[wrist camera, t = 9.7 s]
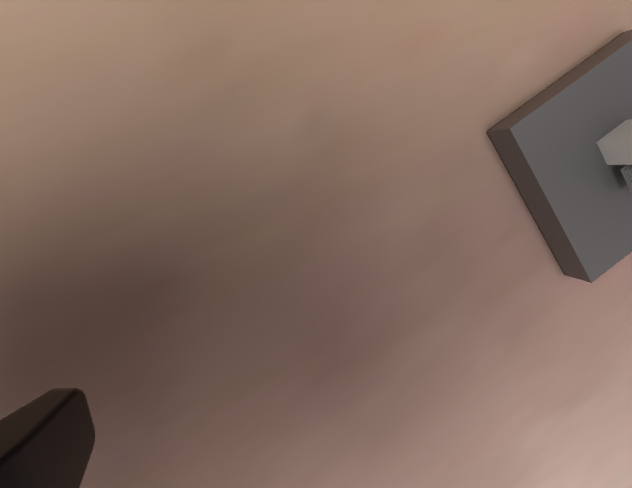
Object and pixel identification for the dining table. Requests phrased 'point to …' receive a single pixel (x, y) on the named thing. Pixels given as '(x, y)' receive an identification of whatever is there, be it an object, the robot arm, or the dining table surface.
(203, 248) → the dining table surface
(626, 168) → the swinging tong arm
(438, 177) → the dining table surface
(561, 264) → the stand
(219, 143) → the dining table surface
